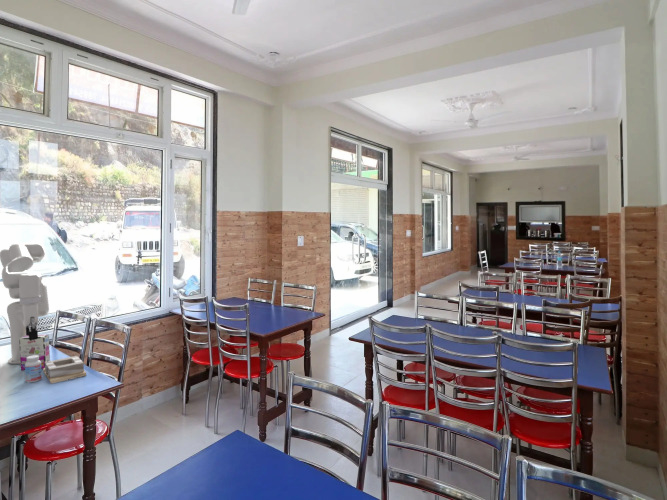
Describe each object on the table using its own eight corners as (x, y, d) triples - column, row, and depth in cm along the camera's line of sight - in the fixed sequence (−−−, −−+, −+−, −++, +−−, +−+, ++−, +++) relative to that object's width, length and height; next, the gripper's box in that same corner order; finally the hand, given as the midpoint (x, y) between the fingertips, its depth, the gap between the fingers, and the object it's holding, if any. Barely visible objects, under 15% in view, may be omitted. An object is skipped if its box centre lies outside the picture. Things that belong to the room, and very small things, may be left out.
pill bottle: (33, 383, 178) (31, 359, 178) (22, 382, 180) (20, 358, 179) (45, 378, 184) (44, 355, 184) (34, 377, 186) (33, 354, 185)
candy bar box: (50, 365, 201) (49, 334, 199) (45, 369, 196) (44, 337, 194) (25, 367, 198) (24, 335, 197) (20, 370, 193) (18, 338, 192)
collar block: (43, 371, 193) (42, 360, 192) (76, 364, 202) (76, 354, 202) (50, 383, 178) (50, 371, 178) (86, 375, 188) (85, 364, 188)
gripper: (17, 298, 182) (19, 334, 184) (22, 304, 170) (23, 343, 171) (37, 296, 188) (39, 331, 189) (43, 302, 175) (45, 339, 176)
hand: (32, 337), depth 180 cm, fingers open, 9 cm apart
